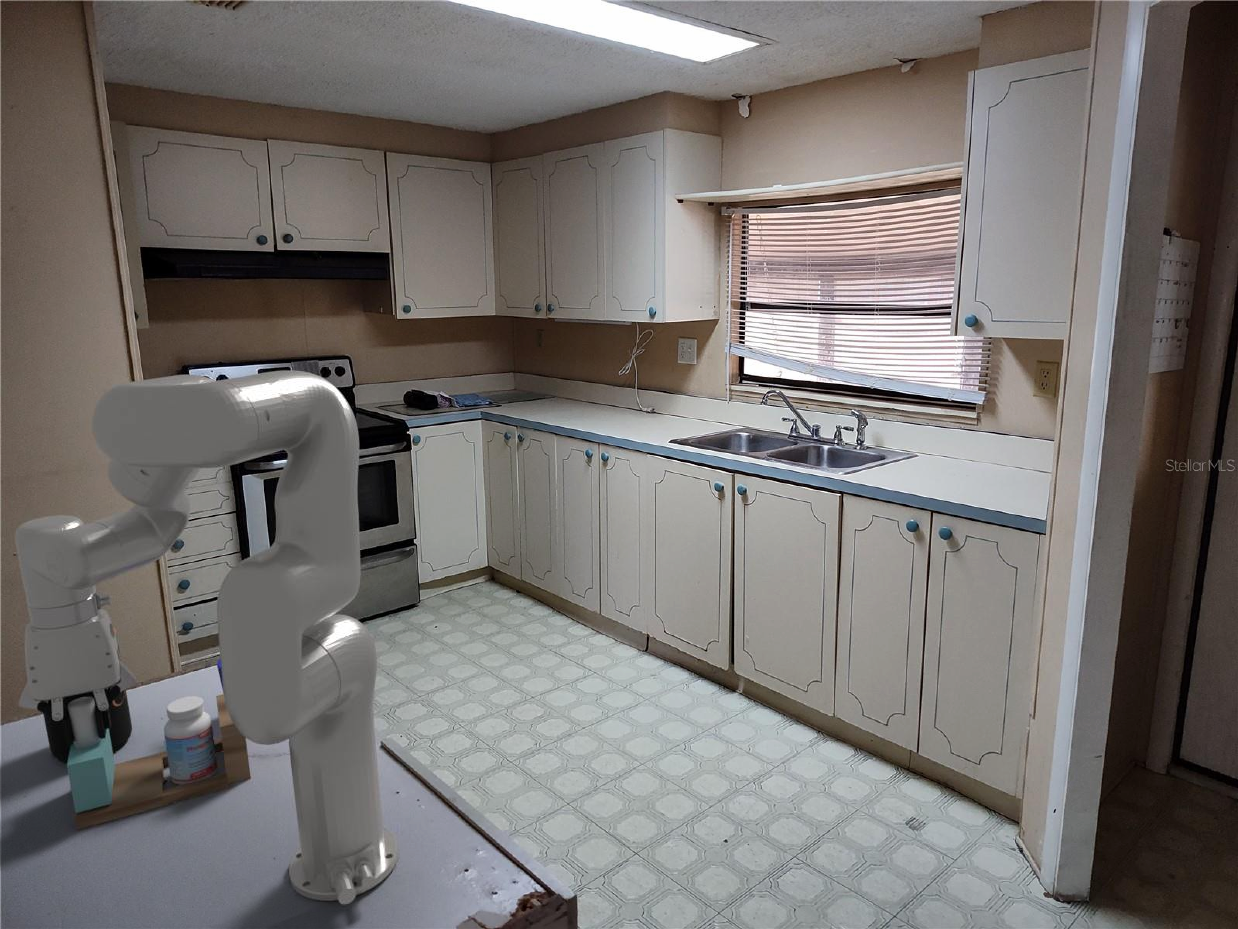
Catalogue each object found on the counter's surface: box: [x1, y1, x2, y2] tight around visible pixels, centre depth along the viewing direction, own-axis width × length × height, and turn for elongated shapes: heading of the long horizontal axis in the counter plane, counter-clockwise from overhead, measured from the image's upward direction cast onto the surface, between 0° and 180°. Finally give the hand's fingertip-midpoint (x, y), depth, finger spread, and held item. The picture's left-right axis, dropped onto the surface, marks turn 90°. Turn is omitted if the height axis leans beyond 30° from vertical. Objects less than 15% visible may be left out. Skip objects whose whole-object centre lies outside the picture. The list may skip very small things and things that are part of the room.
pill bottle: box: [163, 695, 219, 786], centre depth 118 cm, size 6×6×11 cm
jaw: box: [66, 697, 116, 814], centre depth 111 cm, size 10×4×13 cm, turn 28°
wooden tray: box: [74, 693, 252, 831], centre depth 116 cm, size 12×21×9 cm, turn 118°
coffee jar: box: [42, 626, 133, 764], centre depth 124 cm, size 11×11×18 cm
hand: (87, 736), depth 111 cm, fingers closed on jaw, 3 cm apart
